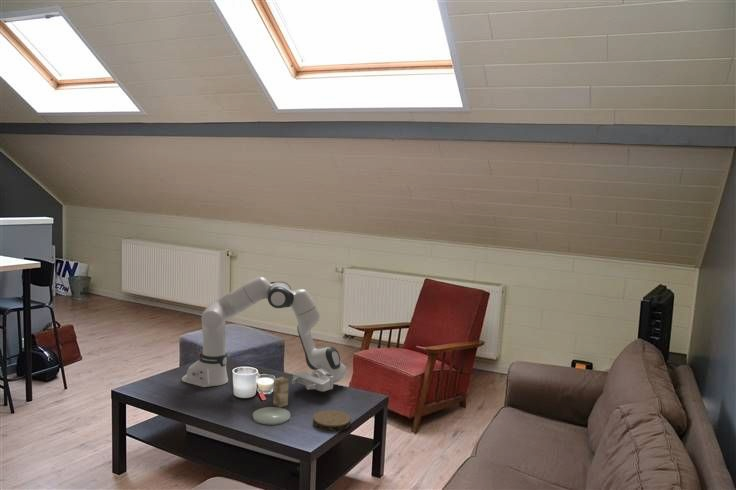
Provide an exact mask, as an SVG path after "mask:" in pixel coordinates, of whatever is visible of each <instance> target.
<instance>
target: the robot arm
mask: <svg viewBox="0 0 736 490" xmlns="http://www.w3.org/2000/svg"><path fill="white" fill-rule="evenodd" d="M265 299H267V301H268V304H269V305H270V306H271V307H272V308H274V309H285V308H291V309H292V311H293V312H294V315H295V317H296V320H297V328H296V329H297V333H298V336H299V340H300V343H301V347H302V350H303V352H304V357H305V363H306V364H307V367H308V368H310V369H311V370H313V371H312V372H307V371H304V370H303V371H298V372H294V373H293V376H292V379H291V384H293V385H295V384H296V385H297V384H298V383H299V384H301V385H303V386H305V389H306V390H316V391H319V392H326V391H331V390H333V389H334V384H336V383H338V382H340V381H342V380H343V379H345V377H346V375H347V367H346V366H345V364H344V363H342V361H341V356H340V353H339V351H338V349H337V348H336V347H334V346H326V347H322V348H317V347H316V345H315V343H314V340H313V336H312V329H313V328H314V327H315V326H316V325H317V324H318V323H319V321H320V312H319V310H318V308H317V305H316V303H315V300H314V299H313V298H312V296H311V294H310V293H309V292H308V291H307V289H306V288H305V289H304V288H298V289H296V290H292V288H291V286H290V284H288V283H287V282H286V281H271V282H269V280H268V279H267V278H266V277H265V276H257V277H255V278H253V279H251V280H247V282H245V283H243V284H241V285H240V286H238V287H237V288H235V289H233V290H232V291H230V292H229V293H227V294H225V295H223V296H221V297H219V298H217V299H216V300H214V301H212V302H210V304H208V305H207V307H206V308H205V309H204V310H203V312H202V314H201V319H200V321H201V329H202V332H201V333H202V352H201V353H199V354H198V355H197V358H199V359H198V360H196V361H195V362H194V363H192V364H191V365H190V366H189V367H188V369H187V371H186V374H185V375H184V376H182V377H181V382H183V383H187V384H190V385H194V386H199V387H202V388H206V387H207V388H208V387H215V386H222V385H225V384H226V383H228V382H229V378H228V377H229V376H228V373H227V360H228V358H227V357H228V356H227V355H228V354H227V336H226V335H227V334H226V332H227V331H226V321H227V320H229V319H230V318H232V317H234V316H236V315H237V314H240V313H243V312H244V311H246V310H247V309H249V308H250V307H252V306H253V305H255V304H257V303H258V302H260V301H262V300H265Z"/></svg>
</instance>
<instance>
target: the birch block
mask: <svg viewBox="0 0 736 490" xmlns="http://www.w3.org/2000/svg"><path fill="white" fill-rule="evenodd" d="M289 383H290V380H289V379H288V378H286V377H284V376H280V377H277V378H274V379H273V403H272V404H273V406H274V407H278V408H283V407H286V406H288V404H289V385H290V384H289Z"/></svg>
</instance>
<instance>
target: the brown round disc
mask: <svg viewBox="0 0 736 490" xmlns="http://www.w3.org/2000/svg"><path fill="white" fill-rule="evenodd" d="M351 420H352V419H351V416H350V414H349V413H346V412H345V411H341V410H334V409H333V410H332V409H327V410H320V411H318V412H316V413H315V414H314V415H313V419H312V424H313V427H315V428H316V429H318V430H321V431H323V432H329V433H330V432H333V433H334V432H343V431H345V430H347V429H349V428H350V426H351Z"/></svg>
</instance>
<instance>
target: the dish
mask: <svg viewBox="0 0 736 490" xmlns="http://www.w3.org/2000/svg"><path fill="white" fill-rule="evenodd" d="M252 419H253V421H254V422H255V423H258V424H260V425H264V426H266V425H267V426H277V425H281V424H284V423H287V422H289V420H290V419H291V413H290V411H289V410H287V409H286V408H283V407H278V406H268V407H267V406H266V407H261V408H258V409H256V410H254V412H253V413H252Z"/></svg>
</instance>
